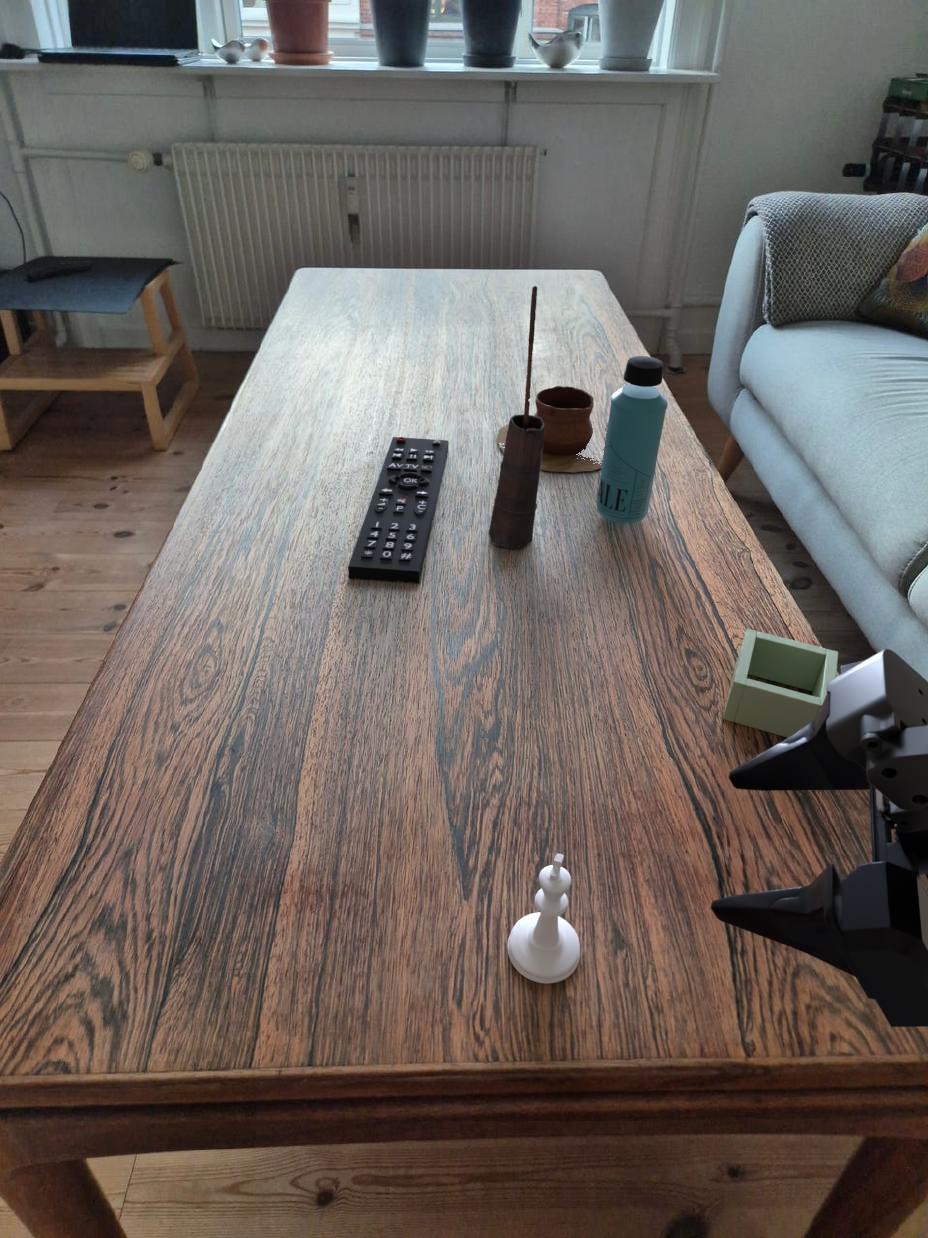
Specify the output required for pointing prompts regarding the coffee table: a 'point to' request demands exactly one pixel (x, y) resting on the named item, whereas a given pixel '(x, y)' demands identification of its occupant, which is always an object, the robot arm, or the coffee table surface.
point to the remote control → (401, 512)
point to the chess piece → (546, 931)
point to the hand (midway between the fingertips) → (723, 840)
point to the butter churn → (519, 469)
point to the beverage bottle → (632, 443)
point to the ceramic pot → (563, 429)
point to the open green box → (783, 665)
